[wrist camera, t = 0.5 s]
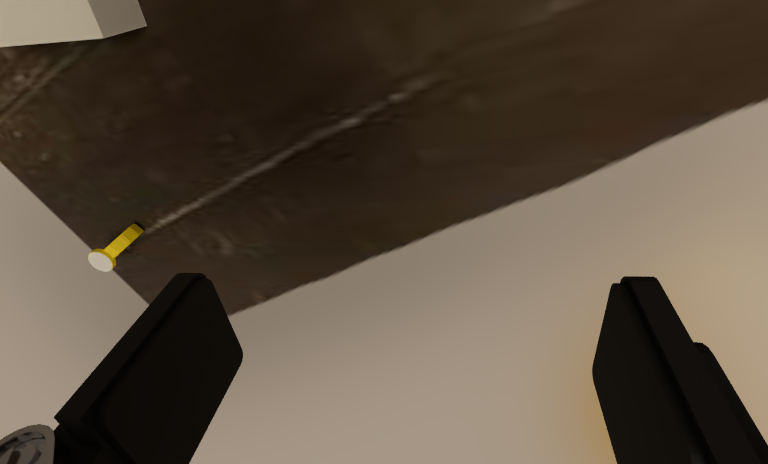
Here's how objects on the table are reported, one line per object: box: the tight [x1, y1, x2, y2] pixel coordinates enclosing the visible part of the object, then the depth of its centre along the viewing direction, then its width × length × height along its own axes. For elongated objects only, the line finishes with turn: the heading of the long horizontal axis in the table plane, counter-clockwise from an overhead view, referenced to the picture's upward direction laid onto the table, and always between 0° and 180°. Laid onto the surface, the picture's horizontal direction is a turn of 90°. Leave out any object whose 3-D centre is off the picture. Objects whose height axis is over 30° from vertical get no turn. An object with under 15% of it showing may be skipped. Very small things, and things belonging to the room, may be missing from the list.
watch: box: [88, 224, 144, 272], centre depth 49 cm, size 6×3×6 cm, turn 129°
